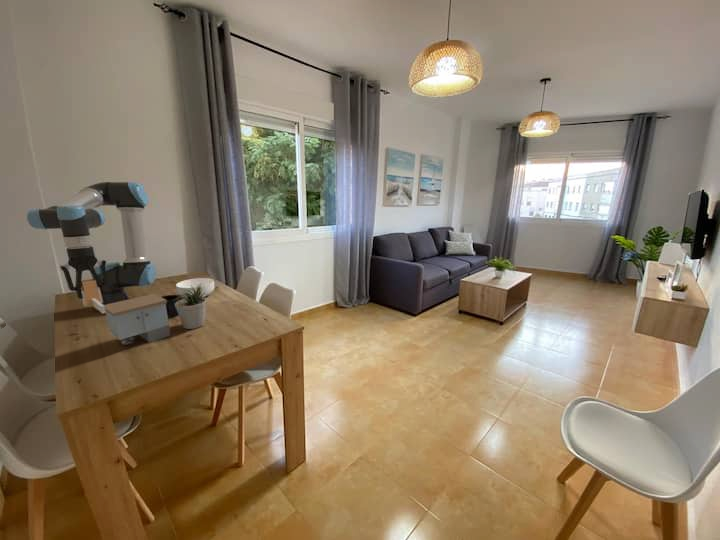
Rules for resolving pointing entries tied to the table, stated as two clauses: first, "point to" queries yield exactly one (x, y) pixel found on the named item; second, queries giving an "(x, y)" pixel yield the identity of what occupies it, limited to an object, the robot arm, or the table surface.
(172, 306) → the mug
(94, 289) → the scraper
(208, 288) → the bowl
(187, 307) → the potted plant
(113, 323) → the cabinet
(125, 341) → the token
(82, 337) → the table surface
